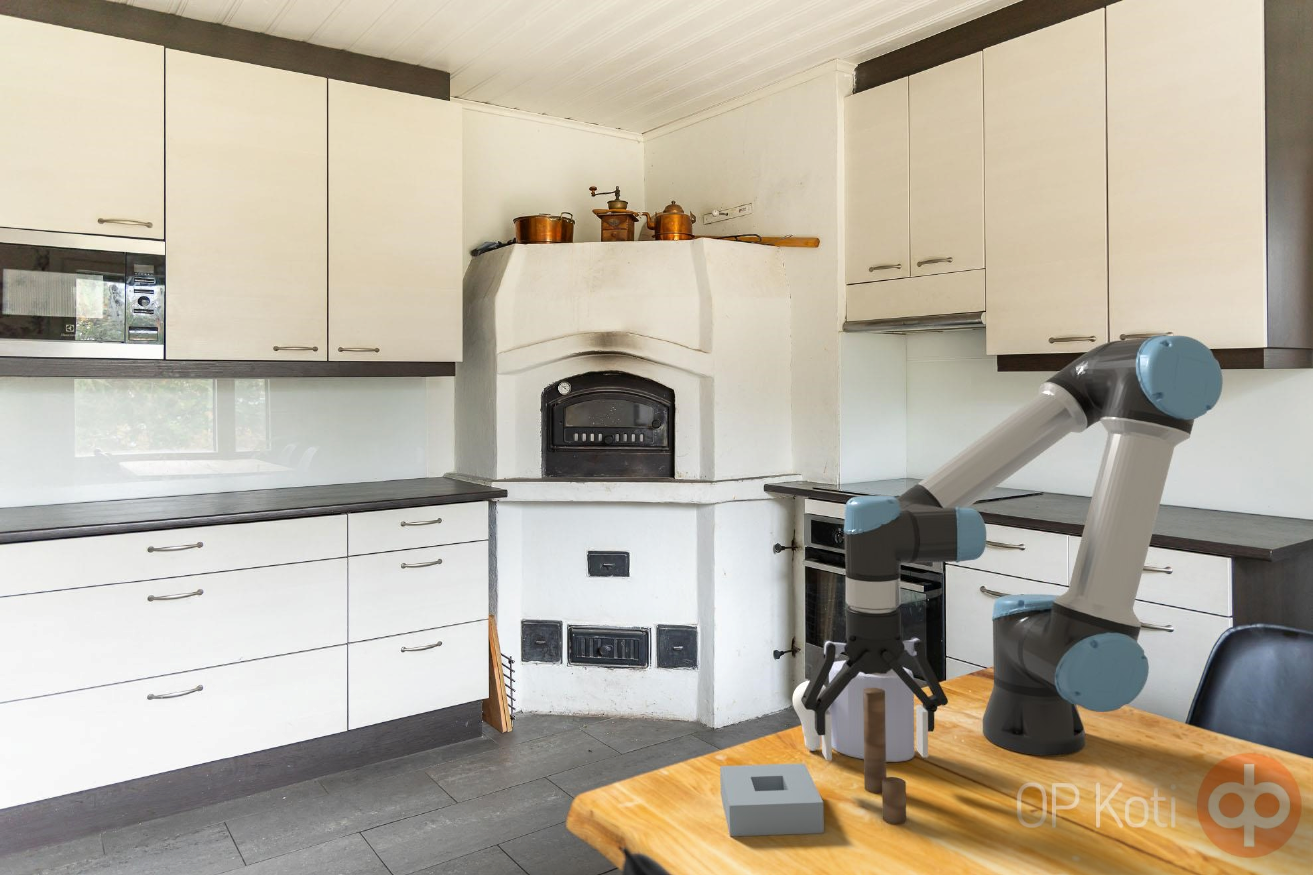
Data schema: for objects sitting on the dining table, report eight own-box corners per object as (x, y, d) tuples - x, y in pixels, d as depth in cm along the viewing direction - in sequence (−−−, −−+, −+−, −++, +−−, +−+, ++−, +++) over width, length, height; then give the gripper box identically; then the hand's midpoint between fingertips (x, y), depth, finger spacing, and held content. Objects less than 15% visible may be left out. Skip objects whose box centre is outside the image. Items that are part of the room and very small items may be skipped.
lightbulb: (832, 759, 134) (831, 688, 133) (792, 757, 135) (791, 687, 134) (832, 743, 140) (831, 676, 139) (794, 741, 141) (793, 674, 140)
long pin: (882, 783, 125) (881, 687, 124) (888, 792, 122) (887, 694, 121) (862, 784, 125) (860, 687, 124) (867, 793, 122) (866, 695, 121)
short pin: (902, 813, 116) (901, 776, 116) (909, 824, 113) (908, 786, 113) (879, 813, 116) (879, 777, 116) (886, 824, 113) (885, 787, 113)
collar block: (805, 790, 123) (804, 763, 123) (823, 832, 111) (823, 802, 111) (720, 793, 123) (720, 765, 123) (730, 836, 111) (729, 805, 111)
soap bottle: (919, 748, 137) (918, 620, 136) (909, 768, 130) (907, 633, 129) (837, 735, 143) (835, 613, 142) (822, 753, 136) (820, 625, 135)
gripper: (951, 598, 126) (952, 741, 127) (780, 602, 126) (782, 747, 127) (971, 610, 119) (972, 763, 120) (789, 615, 118) (791, 768, 119)
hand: (874, 755), depth 123 cm, fingers open, 13 cm apart
